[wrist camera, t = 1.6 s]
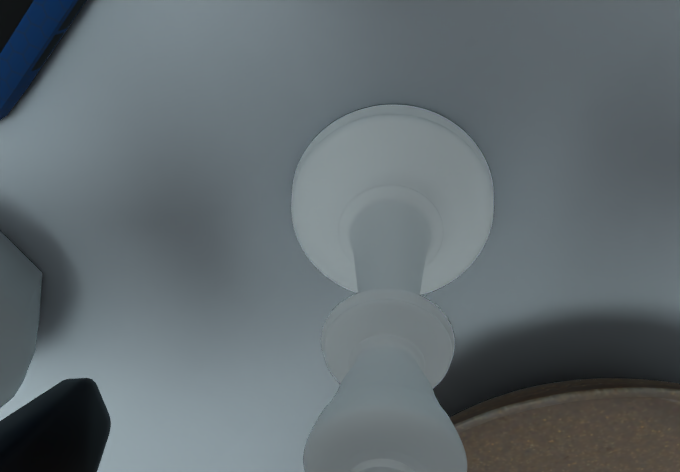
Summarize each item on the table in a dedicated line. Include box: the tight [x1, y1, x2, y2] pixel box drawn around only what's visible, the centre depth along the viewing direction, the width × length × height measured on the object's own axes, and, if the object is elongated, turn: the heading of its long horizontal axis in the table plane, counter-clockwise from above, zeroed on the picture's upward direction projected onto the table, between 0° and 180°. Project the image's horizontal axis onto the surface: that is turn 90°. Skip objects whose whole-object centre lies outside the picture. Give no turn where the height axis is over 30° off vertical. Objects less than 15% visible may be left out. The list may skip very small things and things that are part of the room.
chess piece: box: [291, 104, 494, 472], centre depth 10 cm, size 5×5×10 cm
